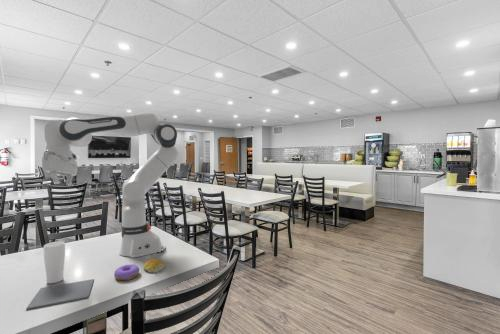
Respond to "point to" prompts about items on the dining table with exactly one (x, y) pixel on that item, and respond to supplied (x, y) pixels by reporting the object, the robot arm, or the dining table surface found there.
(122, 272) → the donut
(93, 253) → the dining table surface
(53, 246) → the drinking glass
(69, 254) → the dining table surface
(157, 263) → the bread roll
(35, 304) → the rubber mat
